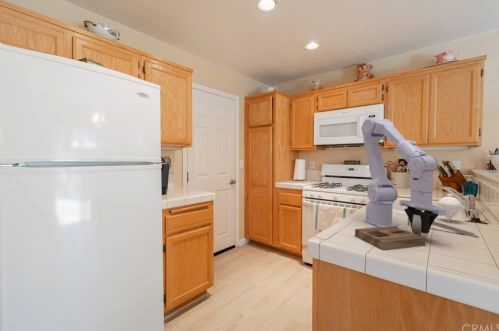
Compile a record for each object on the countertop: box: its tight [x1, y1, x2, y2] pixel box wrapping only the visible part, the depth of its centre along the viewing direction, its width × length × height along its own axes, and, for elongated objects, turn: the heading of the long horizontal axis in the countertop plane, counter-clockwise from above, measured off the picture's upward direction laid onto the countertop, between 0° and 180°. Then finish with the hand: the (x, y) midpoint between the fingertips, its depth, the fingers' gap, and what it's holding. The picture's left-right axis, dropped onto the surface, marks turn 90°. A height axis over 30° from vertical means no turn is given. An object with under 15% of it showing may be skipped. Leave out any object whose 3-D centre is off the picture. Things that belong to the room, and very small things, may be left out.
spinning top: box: [437, 193, 463, 223], centre depth 95 cm, size 8×8×12 cm
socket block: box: [354, 226, 427, 251], centre depth 73 cm, size 12×16×2 cm
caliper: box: [407, 217, 480, 239], centre depth 83 cm, size 20×1×6 cm, turn 46°
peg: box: [411, 214, 429, 241], centre depth 75 cm, size 3×3×8 cm
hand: (419, 231), depth 75 cm, fingers closed on peg, 3 cm apart
